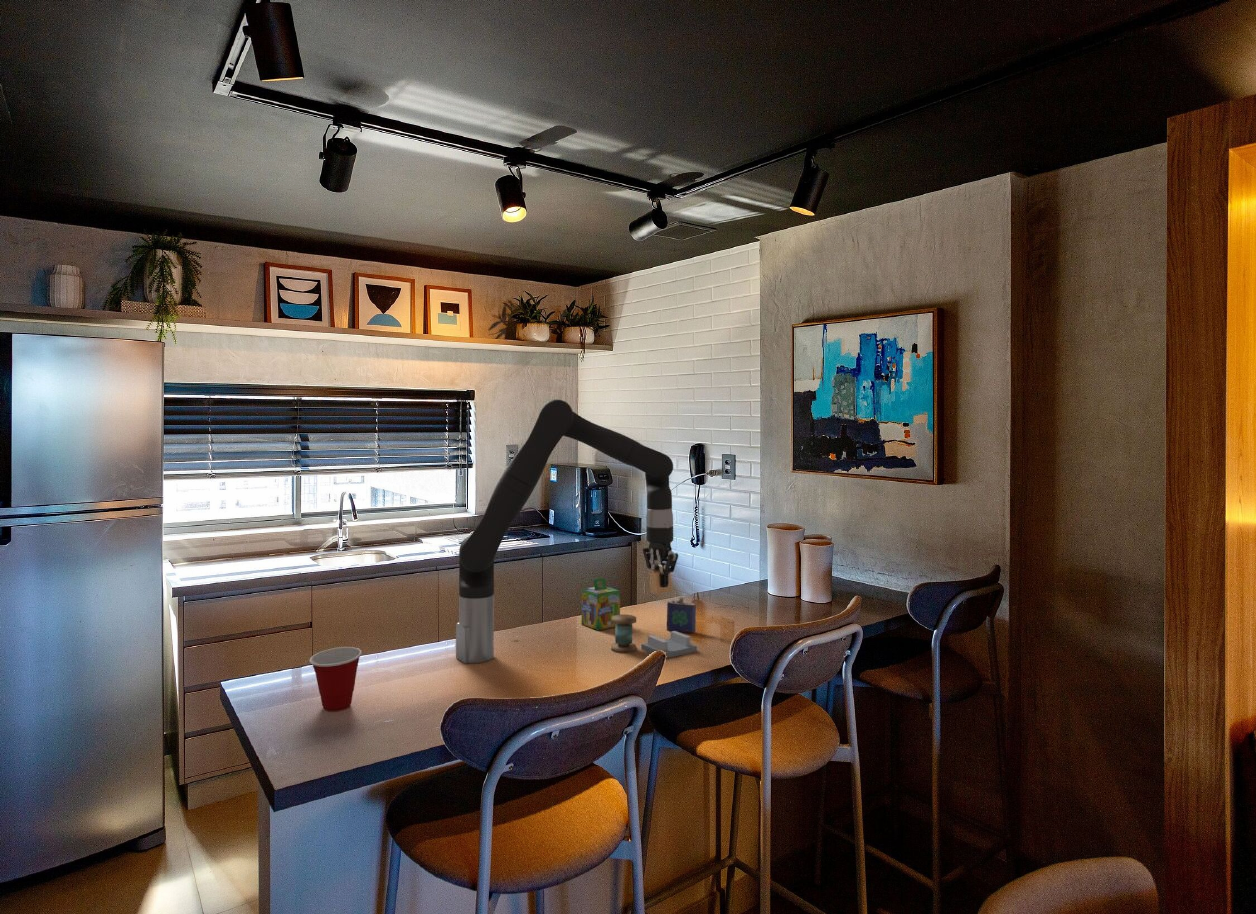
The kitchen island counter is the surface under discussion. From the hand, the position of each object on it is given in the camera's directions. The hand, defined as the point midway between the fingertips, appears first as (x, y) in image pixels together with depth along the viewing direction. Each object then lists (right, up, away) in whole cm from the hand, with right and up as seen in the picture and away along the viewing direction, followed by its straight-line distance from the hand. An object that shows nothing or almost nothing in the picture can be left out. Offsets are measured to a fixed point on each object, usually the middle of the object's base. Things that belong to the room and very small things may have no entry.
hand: (660, 585), depth 207 cm
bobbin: (-10, -18, +2) cm, 21 cm away
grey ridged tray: (+2, -19, +2) cm, 19 cm away
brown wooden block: (0, -2, 0) cm, 2 cm away
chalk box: (-18, -17, +26) cm, 36 cm away
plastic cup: (-74, -20, -43) cm, 88 cm away
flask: (+7, -18, +21) cm, 28 cm away
